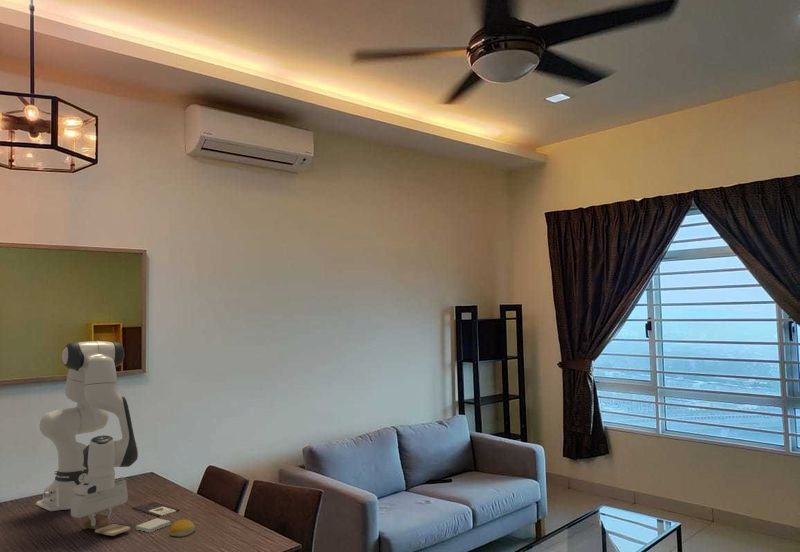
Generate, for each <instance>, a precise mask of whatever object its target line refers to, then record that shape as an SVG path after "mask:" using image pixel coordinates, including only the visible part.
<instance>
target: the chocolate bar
mask: <svg viewBox="0 0 800 552" xmlns="http://www.w3.org/2000/svg"><path fill="white" fill-rule="evenodd" d="M134 509H135V511H137V510H138V512H140V511H141V513H143V512H144V514H146V513H147V514H146V515H149V514H150V516H152V515H153V517H155V516H156V518H161V517H164V516H168V515H171V514H174V513H177V512H180V509H179V508H176V507H172V506H168V505H166V504H163V503H160V502H156V501H151V502H148V503H147V502H146V503H145V504H144V503H143V504H140V505H136V506H134V507H132V510H134ZM176 511H177V512H176ZM173 512H174V513H173ZM170 513H171V514H170ZM167 514H168V515H167ZM163 515H164V516H163ZM160 516H161V517H160Z"/></svg>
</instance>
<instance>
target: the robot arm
mask: <svg viewBox="0 0 800 552" xmlns="http://www.w3.org/2000/svg"><path fill="white" fill-rule="evenodd" d="M124 358H125V349H124V347H123V344H121V343H120V342H116V341H106V340H105V341H103V340H93V341H73V342H68V343H67V344H66V345H65V346H64V348H63V351H62V353H61V360H62V364H63V365H64V367H65V368H67V369H68V371H67V377H66V384H65V388H64V393H65V396H66V398H67V399H69V400H70V401H71V402H75V403H76V406H74V407H69V408H62V409H55V410H52V411H49V412H46V413H44V414H43V415H42V417H41V418H40V421H39V425H38V426H39V431H40V433H41V434H42V435H43V436H44V437H45V438H47V439H49V440H50V441H51V442H52V443H53V444H54V446H55V448H56V451H57V460H58V464H57V468H58V469H57V470H56V471H54V475H55V477H54V480H53V481H52V482H51V483H50V484H49V485H47V486H46V487H45V488H44V490H43V494H42V499H40V500H38V501H36V503H35V506H38V507H40V508H41V509H45V510H46V511H49V512H54V511H61V510H62V511H63V510H70V516H71V517H72V518H74V519H82V517H84V516H87V515H88V517H89V518H90V520H91V525H92V526H95V525H98V520H96V519H95V517H94V516H96V514H97V513H99V512H102V511H105V512H104V515H105V516H108V522H109V521H110V516H111V514H112V511H113V508H114V507H117V506H121V505H123V504H125V503H127V502H128V497H129V496H128V495H129V493H128V487H127V479H126V478H124V477H119V478H116V476H115V475H116V471H115V468H129V467H131V466H132V465H133V464H135V462H136V461H137V460H138V457H139V447H138V445H137V442H136V439H135V438H136V437H135V433H134V429H133V424H132V418H131V413H130V412H131V411H130V409H129V404H128V401H127V399H126V398H125V396H122V395H121V393H120V392H119V390H118V385H117V383H118V381H117V380H118V379H117V377H118V376H117V370H116V368H117V367H119V366H120V365H121V364H123V362H124ZM108 412H109V413H112V414H114V415H115V416H116V417H117V419H118V421H119V428H120V432H121V439H118V440H115V439H114V437H112V436H111V435H104V434H103V435H98V436H95V437H93V438H91V439H90V442H89V444H88V445H86V444H84V443H82V442H79V441H77V439H76V435H83V434H87V433H93V432H96V431H99V430H101V429H102V430H103V429H104V428H105V427H106V426H107V424H108V421H109V413H108Z"/></svg>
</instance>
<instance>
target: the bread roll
mask: <svg viewBox="0 0 800 552" xmlns="http://www.w3.org/2000/svg"><path fill="white" fill-rule="evenodd" d="M195 531H196V527H195V524H194V523H193V522H192V520H189V519H185V518H184V519H178V520H176V521H174V522H173V524H171V525H170V528H169V535H170V536H172V537H186V536H188V535H190V534H193V533H194V532H195Z"/></svg>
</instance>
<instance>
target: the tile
mask: <svg viewBox="0 0 800 552" xmlns="http://www.w3.org/2000/svg"><path fill="white" fill-rule="evenodd" d="M165 526H166V527H168V526H171V520H168V519H164V518H163V519H162V518H160V517H156V518H154V519H151V520H149V521H145V522H143V523H140V524H138V525H136V526H135V530H136V531H138V530H141V531H140V532H143V531H145V532H144V533H148V532H149V534H151V533H154V532H156V531H158V530H160V528H161V529H163V528H165ZM162 527H163V528H162ZM157 529H158V530H157ZM155 530H156V531H155ZM150 532H151V533H150Z"/></svg>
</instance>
